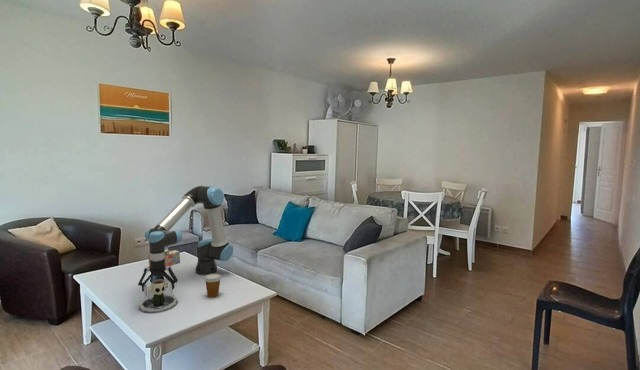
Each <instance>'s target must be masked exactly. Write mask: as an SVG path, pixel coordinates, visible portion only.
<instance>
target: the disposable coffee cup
mask: <svg viewBox="0 0 640 370" xmlns="http://www.w3.org/2000/svg"><path fill="white" fill-rule="evenodd" d="M204 276H205V277H204V281H205V286H206V287H205V288H206V293H207V297H208V298H217V297H218V296H219V292H220V283H221V279H222V277H221V275H220V274H219V273H213V274H209V275H204Z"/></svg>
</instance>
